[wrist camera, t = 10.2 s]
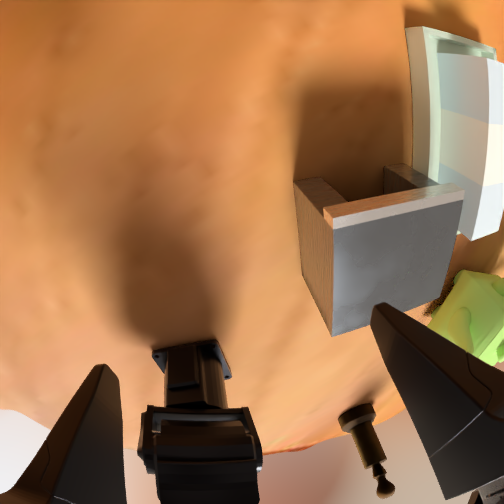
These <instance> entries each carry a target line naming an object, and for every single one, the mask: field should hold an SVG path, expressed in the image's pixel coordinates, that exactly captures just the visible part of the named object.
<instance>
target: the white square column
mask: <svg viewBox="0 0 504 504" xmlns="http://www.w3.org/2000/svg"><path fill="white" fill-rule="evenodd" d="M437 58H438V69H439V82H440V106H441V134H440V158H439V172H438V183H439V184H440V185H441V184H446V183H454V184H456V185H457V186H459V187H460V188H462V189H464V190H465V193H464V199H463V205H462V211H461V216H460V221H459V226H458V230H459V231H460V232H461V233H462V234H463V235H465V236H466V237H467V238H468V239H469V240H471V241H473V240H476V239H479V238H481V237H484V236H486V235H489V234H492V233H494V232H497V231H498V230H499V226H500V222H501V218H502V214H503V210H504V64H503V63H500V62H498V61H495V60H492V59H489V58H485V57H478V56H470V55H461V54H449V53H437Z"/></svg>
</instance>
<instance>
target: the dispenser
mask: <svg viewBox="0 0 504 504" xmlns="http://www.w3.org/2000/svg"><path fill="white" fill-rule="evenodd" d="M293 185H294V194H295V203H296V212H297V222H298V232H299V242H300V253H301V265H302V276H303V278H304V280H305V282H306V284H307V286H308V288H309V290H310V292H311V294H312V296H313V299H314V301H315V303H316V305H317V307H318V309H319V311H320V313H321V315H322V317H323V319H324V322H325V324H326V326H327V328H328V330H329V332H330V334H331V337H334V336H337V335H340V334H343V333H346V332H349V331H352V330H355V329H358V328H361V327H364V326H367V325H370V319H371V314H372V308H373V306H374V305H375V304H379V303H382V302H386V303H388V304H390V305H391V306H393V307H395V308H396V309H398V310H400V311H401V312H405V311H408V310H411V309H413V308H416V307H418V306H421V305H423V304H425V303H428V302H430V301H433V300H435V299H437V298H439V297H440V294H441V291H442V288H443V285H444V281H445V278H446V275H447V271H448V267H449V264H450V260H451V256H452V252H453V248H454V244H455V240H456V236H457V231H458V226H459V221H460V216H461V211H462V205H463V199H464V193H465V190H464V189H462V188H460V187H459V186H457V185H456V184H454V183H446V184H441V185H440V184H439V183H437V182H435V181H434V180H432V179H430V178H429V177H427V176H425V175H424V174H422V173H420V172H418V171H417V170H415V169H413V168H411V167H409V166H408V165H406V164H396V165H389V166H384V195H381V196H376V197H371V198H366V199H361V200H356V201H351V202H347V201H346V200H345V199H344V198H343V197H342V196H341V195H340V194H339V193H338V192H337V191H335V190H334V189H333V188H332V187H331V186H330V185H329V184H328V183H327V182H325V181H324V180H323V179H322V178H321V177H315V178H310V179H305V180H299V181H294V182H293Z"/></svg>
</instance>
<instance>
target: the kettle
mask: <svg viewBox="0 0 504 504" xmlns="http://www.w3.org/2000/svg"><path fill="white" fill-rule="evenodd" d="M453 283H454V284H455V285H454V287H453V289H452V290H451V292H450V293H449V295H448V297H447V298H446V300H445V301H444V303H443V304H442V305H440V306H438V307H437V308H436V309H435V310H434V311H433V312H432V314H431V318H433V319H432V320H431V322H430V323H429V324H428V326H427V327H428V328H430V329H431V330H433V331H435V332H436V333H438V334H440V335H441V336H443V337H445V338H446V339H448V340H449V341H451V342H453V343H454V344H456V345H458V346H459V347H461V348H462V349H464V350H466V352H469V353H471V354H472V355H474V356H475V357H477V358H479V359H480V360H482V361H484V362H486V363H487V364H489V365H491V366H493V365H495V364H496V363H497V362H498V361H499V362H502V361H504V278H500V277H499V276H498V275H492V274H486V273H483V272H482V273H480V272H474V271H468V270H465V269H462V270H461V271H459V272H458V273H457V275H456V276H455V278H454V281H453Z"/></svg>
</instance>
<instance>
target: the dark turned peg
mask: <svg viewBox="0 0 504 504" xmlns="http://www.w3.org/2000/svg"><path fill="white" fill-rule="evenodd" d="M375 417H376V413H375V411H374V409H373V406H372V405H371V404H363V405H360V406H357V407H355V408H353V409H350V410H349V411H347V412H345V413H344V414H343V415H341V416H340V418H339V420H338V421H339V424H340V426H341V429H342V431H344V432H348V433H351V434H352V437H353V439H354V442H355V444H356V447H357V449H358V452H359V454H360V457H361V460H362V462H363V465H364V468H365V469H368V468H371V467H372V468H373V478H374V479H376V480H377V481H378V487H377V495H378V497H379V498H382V499H384V498H387V497H390V496H392V495H393V494H394V492H395V486H394V485H393V484H392V483H391V482H389V481H388V480H387V479H386V478H385V474H386V473H387V472H386V470H385V469H384V468H383V466H381V464H380V463H382V462H384V461H385V460H387V458H386V456H385V453H384V451H383V449H382V447H381V444H380V442H379V439H378V437H377V435H376V433H375V431H374V428H373V426H372V422H373V421H374V418H375Z"/></svg>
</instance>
